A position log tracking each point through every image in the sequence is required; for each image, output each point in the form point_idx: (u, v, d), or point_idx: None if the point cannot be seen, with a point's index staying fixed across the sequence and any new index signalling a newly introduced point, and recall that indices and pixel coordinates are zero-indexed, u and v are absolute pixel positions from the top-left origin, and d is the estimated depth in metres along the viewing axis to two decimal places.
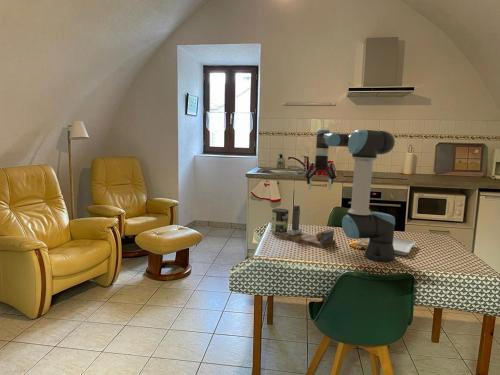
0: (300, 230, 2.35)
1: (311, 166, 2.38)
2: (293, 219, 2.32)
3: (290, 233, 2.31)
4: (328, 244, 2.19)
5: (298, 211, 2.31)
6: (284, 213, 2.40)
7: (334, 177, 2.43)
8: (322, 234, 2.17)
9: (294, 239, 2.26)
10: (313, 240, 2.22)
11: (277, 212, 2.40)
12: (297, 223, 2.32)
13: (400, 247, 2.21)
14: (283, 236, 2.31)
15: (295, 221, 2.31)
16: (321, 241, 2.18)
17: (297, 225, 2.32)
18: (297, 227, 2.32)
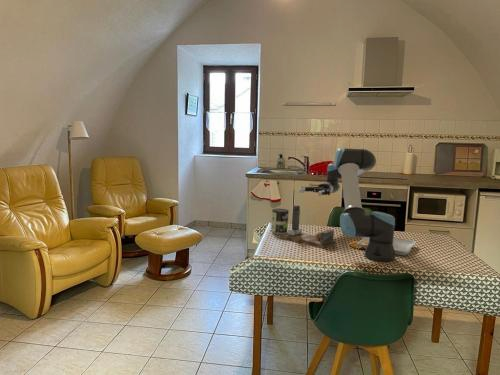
0: (300, 230, 2.35)
1: None
2: (293, 219, 2.32)
3: (290, 233, 2.31)
4: (328, 244, 2.19)
5: (298, 211, 2.31)
6: (284, 213, 2.40)
7: (328, 191, 2.40)
8: (322, 234, 2.17)
9: (294, 239, 2.26)
10: (313, 240, 2.22)
11: (277, 212, 2.40)
12: (297, 223, 2.32)
13: (400, 247, 2.21)
14: (283, 236, 2.31)
15: (295, 221, 2.31)
16: (321, 241, 2.18)
17: (297, 225, 2.32)
18: (297, 227, 2.32)
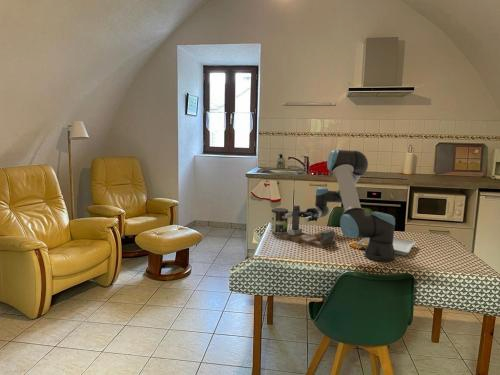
0: (300, 230, 2.35)
1: None
2: (293, 219, 2.32)
3: (290, 233, 2.31)
4: (328, 244, 2.19)
5: (298, 211, 2.31)
6: (283, 213, 2.40)
7: (315, 216, 2.33)
8: (322, 234, 2.17)
9: (294, 239, 2.26)
10: (313, 240, 2.22)
11: (276, 212, 2.40)
12: (297, 223, 2.32)
13: (400, 247, 2.21)
14: (283, 236, 2.31)
15: (295, 221, 2.31)
16: (321, 241, 2.18)
17: (297, 225, 2.32)
18: (297, 227, 2.32)
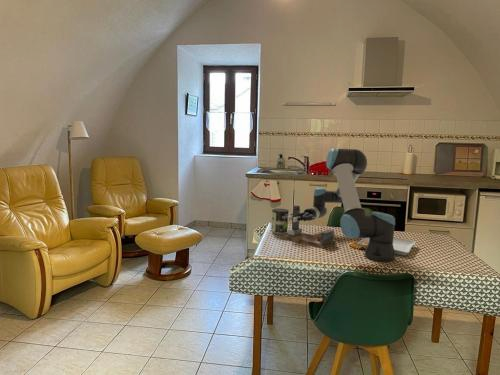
0: (300, 230, 2.35)
1: None
2: None
3: (290, 233, 2.31)
4: (328, 244, 2.19)
5: (298, 211, 2.31)
6: (284, 213, 2.40)
7: (304, 216, 2.32)
8: (322, 234, 2.17)
9: (294, 239, 2.26)
10: (313, 240, 2.22)
11: (277, 212, 2.40)
12: (297, 223, 2.32)
13: (400, 247, 2.21)
14: (283, 236, 2.31)
15: None
16: (321, 241, 2.18)
17: (297, 225, 2.32)
18: (297, 227, 2.32)
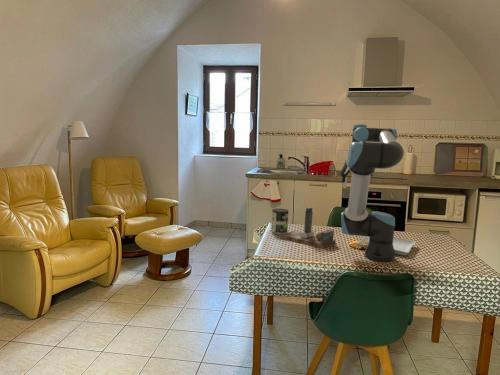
0: (313, 233, 2.29)
1: (347, 163, 2.23)
2: (305, 221, 2.27)
3: (302, 236, 2.25)
4: (328, 244, 2.19)
5: (311, 213, 2.26)
6: (284, 213, 2.40)
7: (371, 175, 2.28)
8: (322, 234, 2.17)
9: (294, 239, 2.26)
10: (313, 240, 2.22)
11: (277, 212, 2.40)
12: (310, 226, 2.27)
13: (400, 247, 2.21)
14: (283, 236, 2.31)
15: (308, 224, 2.26)
16: (321, 241, 2.18)
17: (310, 228, 2.27)
18: (310, 230, 2.27)
